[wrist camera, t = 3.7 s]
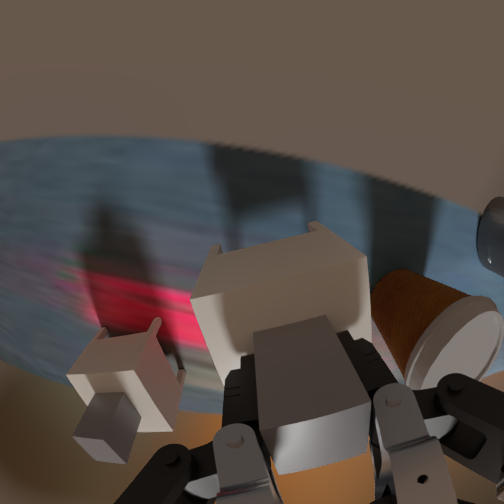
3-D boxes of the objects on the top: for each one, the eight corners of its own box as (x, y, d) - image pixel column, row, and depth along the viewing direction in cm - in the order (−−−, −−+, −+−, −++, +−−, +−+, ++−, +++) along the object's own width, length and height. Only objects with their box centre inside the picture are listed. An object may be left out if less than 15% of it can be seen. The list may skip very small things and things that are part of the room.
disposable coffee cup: (349, 266, 24) (423, 336, 12) (431, 243, 24) (517, 285, 12) (355, 349, 27) (404, 432, 15) (428, 322, 26) (491, 381, 15)
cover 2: (316, 220, 18) (442, 316, 5) (330, 312, 20) (409, 456, 7) (211, 245, 18) (156, 389, 6) (238, 335, 20) (237, 499, 8)
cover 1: (159, 316, 24) (111, 421, 12) (185, 373, 26) (164, 478, 14) (101, 327, 25) (38, 414, 12) (129, 379, 26) (91, 470, 14)
